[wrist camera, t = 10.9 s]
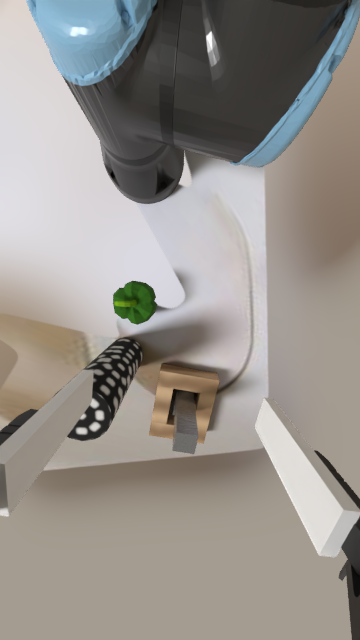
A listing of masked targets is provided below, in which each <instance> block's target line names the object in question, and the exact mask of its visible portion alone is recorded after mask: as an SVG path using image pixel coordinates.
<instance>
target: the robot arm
mask: <svg viewBox="0 0 360 640" xmlns="http://www.w3.org/2000/svg"><path fill="white" fill-rule="evenodd" d="M26 1H27V4H28V7H29V10H30V12H31V14H32V16H33V18H34V21H35V22H36V25H37V27H38V29H39V31H40V32H41V34H42V36H43V38H44V40H45V42H46V44H47V46H48V48H49V51H50V54H51V57H52V59H53V62H54V64H55V65H56V66H57V68H58V70H59V71H60V73H61V75H62V76H63V78H64V80H65V81H66V83H67V84H68V86H69V88H70V90H71V92H72V93H73V95H74V97H75V98H76V100H77V102H78V104H79V105H80V107H81V109H82V110H83V112H84V114H85V115H86V117H87V119H88V121H89V122H90V124H91V126H92V127H93V129H94V131H95V133H96V134H97V136H98V138H99V140H100V144H101V150H102V156H103V161H104V165H105V168H106V170H107V173H108V175H109V176H110V178H111V180H112V181H113V183H114V184H115V186H116V187H117V189H118V190H119V191H120V192H121V193H122V194H123V195H124V196H126V197H127V198H129V199H131V200H133V201H135V202H138V203H144V204H150V203H155V202H158V201H161V200H163V199H165V198H166V197H167V196H169V195H170V194H171V193H172V192H173V191H174V189H175V188H176V186H177V185H178V183H179V181H180V178H181V176H182V172H183V166H184V150H187V151H191V152H194V153H198V154H202V155H206V156H210V157H214V158H218V159H222V160H226V161H229V162H230V163H231V164H232V165H240V164H242V165H247V166H252V167H263V166H264V165H267V164H269V163H271V162H272V161H274V160H275V159H276V158H277V157H279V156H280V155H281V154H282V153H283V152H284V151H285V150H286V148H287V147H288V146H289V145H290V144H291V143H292V141H293V140H294V139H295V137H296V136H297V135H298V133H299V132H300V131H301V129H302V128H303V126H304V125H305V123H306V122H307V121H308V119H309V118H310V116H311V115H312V113H313V112H314V110H315V108H316V107H317V105H318V103H319V102H320V100H321V98H322V97H323V95H324V94H325V92H326V90H327V88H328V86H329V84H330V83H331V81H332V73H333V72H334V70H335V69H336V67H337V66H338V65H339V63H340V62H341V60H342V59H343V57H344V55H345V53H346V51H347V49H348V47H349V44H350V42H351V40H352V37H353V35H354V32H355V30H356V27H357V24H358V21H359V17H360V0H26ZM93 373H94V371H91V370H84V369H83V370H82V371H81V372H80V373H79V374H78V375H77V376H76V377H74V378H73V379H72V380H71V381H70V382H69V383H68V384H67V385H66V386H65V387H64V388H62V389H61V390H60V391H59V392H58V393H57V394H56V395H55V396H54V397H53V398H52V399H51V400H49V401H48V402H47V403H46V404H45V405H44V406H43V407H42V408H41V409H40V410H34V409H30V410H28V411H26V412H24V413H23V414H21V415H19V416H18V417H16V418H15V419H14V420H13V421H12V422H10V423H9V424H8V426H6V427H4V428H3V429H2V430H1V431H0V515H1V516H9V515H10V514H11V513H12V511H13V510H14V509H15V507H16V506H17V504H18V503H19V502H20V500H21V499H22V498H23V496H24V495H25V493H26V492H27V491H28V489H29V488H30V487H31V485H32V484H33V482H34V481H35V480H36V478H37V477H38V476H39V474H40V472H41V471H42V470H43V469H44V467H45V466H46V465H47V463H48V462H49V460H50V459H51V458H52V456H53V455H54V454H55V452H56V451H57V449H58V448H59V447H60V445H61V444H62V442H63V441H64V440H65V438H66V437H67V436H68V434H69V433H70V431H71V430H72V429H73V427H74V426H75V425H76V423H77V422H78V420H79V419H80V418H81V416H82V415H83V414H84V412H85V411H86V409H87V408H88V407H89V405H90V404H91V403H92V388H93ZM255 429H256V431H257V433H258V435H259V437H260V439H261V441H262V443H263V445H264V447H265V449H266V451H267V453H268V455H269V457H270V459H271V461H272V463H273V465H274V467H275V469H276V471H277V473H278V475H279V477H280V479H281V481H282V483H283V485H284V487H285V489H286V491H287V492H288V495H289V497H290V499H291V501H292V503H293V505H294V507H295V508H296V510H297V513H298V514H299V517H300V519H301V521H302V523H303V524H304V526H305V529H306V531H307V533H308V535H309V537H310V538H311V541H312V542H313V544H314V546H315V548H316V550H317V552H318V555H320V556H328V557H336V556H337V554H338V553H339V551H340V549H341V548H342V550H343V551H344V553H345V554H346V556H347V558H348V560H347V561H346V563H345V565H344V567H343V568H342V570H341V571H340V574H339V578H340V579H341V580H343V579H344V577H345V576H346V575H347V587H348V598H349V610H350V622H351V633H352V640H360V499H359V498H358V496H357V495H356V494H355V493H354V491H353V490H352V489H351V488H350V487H349V485H348V484H347V483H346V482H344V479H343V478H342V477H341V475H340V474H339V473H337V471H336V469H335V468H334V467H333V466H332V465H331V463H330V462H329V461H328V460H327V459H326V458H325V457H324V456H323V455H322V454H320V453H319V452H318V451H314V450H313V449H312V448H311V446H310V445H309V444H308V443H307V441H306V440H305V439H304V438H303V436H302V435H301V434H300V432H299V431H298V430H297V428H296V427H295V426H294V425H293V424H292V422H291V421H290V420H289V418H288V417H287V416H286V415H285V413H284V412H283V411H282V409H281V408H280V407H279V406H278V404H277V403H276V402H275V400H274V399H269V398H264V400H263V403H262V406H261V409H260V412H259V415H258V418H257V421H256V424H255Z"/></svg>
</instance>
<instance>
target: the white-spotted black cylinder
mask: <svg viewBox="0 0 360 640" xmlns="http://www.w3.org/2000/svg"><path fill="white" fill-rule="evenodd" d="M142 359H143V350H142V348H141V346H140V345H139V344H138V343H137V342H136V341H135V340H133V339H130V338H120V339H118V340H116V341H115V342H113V343H112V344H111V345H110V346H109V347H108V348H107V349H106V350H104V351H103V352H102V353H101V354H100V355H99V356H98V357H97V358H95V359H94V360H93V361H92V362H91V363H90V364H89V365H88V366H86V367H85V368H84V370H91V371H94V373H93V388H92V403H91V404H90V405H89V407H88V408H87V409H86V411H85V412H84V414H83V415H82V416H81V418H80V419H79V420H78V422H77V423H76V425H75V426H74V427H73V429H72V430H71V431H70V433H69V434H68V436H67V437H69V438H71V439H75V440H81V441H86V440H93V439H96V438H98V437H100V436H101V435H103V434H104V433H105V432H106V431H107V430H108V428H109V426H110V425H111V422H112V420H113V418H114V416H115V414H116V412H117V410H118V408H119V406H120V404H121V402H122V400H123V398H124V396H125V394H126V392H127V390H128V388H129V386H130V384H131V382H132V380H133V378H134V376H135V374H136V372H137V370H138V368H139V366H140V363H141V361H142ZM77 375H78V374H77ZM77 375H76V376H77ZM76 376H75V377H76ZM67 384H68V383H67ZM67 384H66V385H67ZM66 385H65V386H66ZM65 386H64V387H65ZM64 387H63V388H64ZM58 392H59V391H58ZM58 392H57V393H58ZM57 393H56V394H57ZM56 394H55V395H56ZM55 395H54V396H55ZM54 396H53V397H54Z"/></svg>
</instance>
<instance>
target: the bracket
mask: <svg viewBox="0 0 360 640" xmlns="http://www.w3.org/2000/svg"><path fill="white" fill-rule="evenodd" d="M173 415H174V430H173V451H178V452H184V453H191V454H194V452H195V448H196V444H197V440H198V427H197V419H196V411H195V403H194V394H193V392H191V391H185V390H178V389H177V392H176V397H175V402H174V407H173Z"/></svg>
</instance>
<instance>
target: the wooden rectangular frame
mask: <svg viewBox="0 0 360 640" xmlns="http://www.w3.org/2000/svg"><path fill="white" fill-rule="evenodd" d="M219 381H220V380H219V378H218V375H217V373H214V372H208V371H202V370H196V369H190V368H184V367H178V366H172V365H167V364H162V365H161V369H160V375H159V380H158V386H157V392H156V398H155V403H154V409H153V415H152V421H151V426H150V432H149V435H150V436H157V437H163V438H170V439H173V430H174V415H172V414H168V413H169V408H170V403H171V398H172V393H173V389H178V390H185V391H191V392H197V394H196V399H195V411H196V419H197V427H198V440H197V443H203V444H204V440H205V436H206V432H207V428H208V424H209V420H210V416H211V412H212V409H213V405H214V401H215V397H216V393H217V389H218V385H219Z"/></svg>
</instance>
